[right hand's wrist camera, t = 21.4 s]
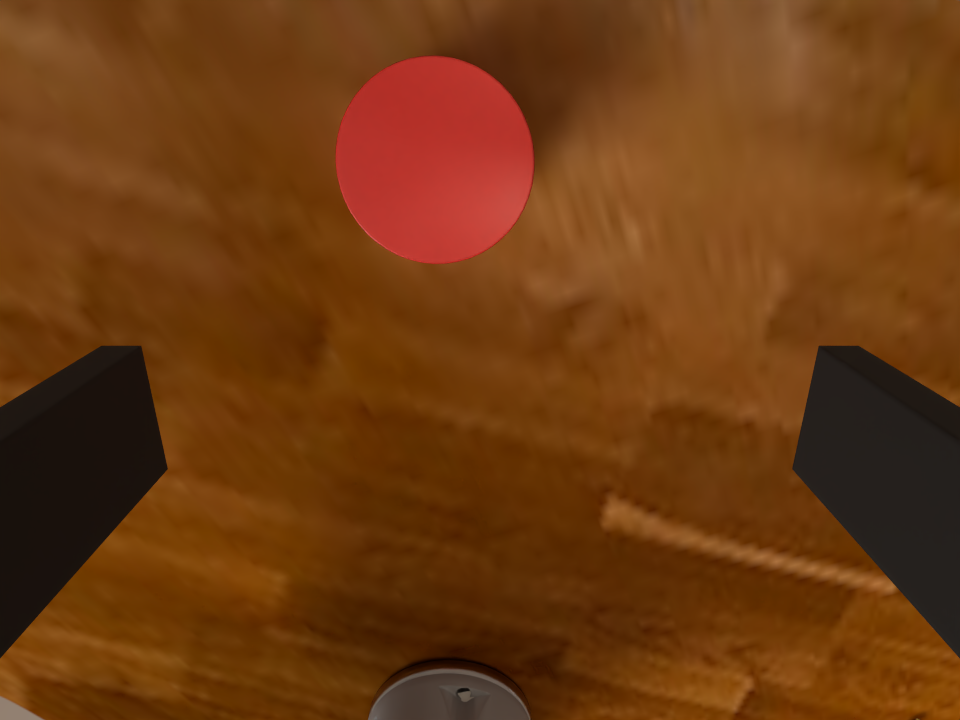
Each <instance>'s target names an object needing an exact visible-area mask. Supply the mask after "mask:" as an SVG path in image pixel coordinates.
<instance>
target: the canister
mask: <svg viewBox="0 0 960 720" xmlns="http://www.w3.org/2000/svg"><path fill="white" fill-rule="evenodd" d="M336 170H337V177H338V181H339V185H340V189H341V192H342V195H343V197H344V200H345V202H346V204H347V206H348V208H349V210H350V212H351V214H352V215H353V217H354V218H355V220H356V221H357V223H358V224H359V225H360V226H361V227H362V229H363V230H364V231H365V232H366V233H367V234H368V235H369V236H370V237H371V238H372V239H374V240H375V241H376V242H377V243H378V244H380V245H381V246H383V247H384V248H386V249H387V250H389V251H391V252H393V253H395V254H397V255H399V256H401V257H404V258H407V259H409V260H413V261H418V262H422V263H431V264H446V263H453V262H459V261H462V260H466V259H469V258H472V257H474V256H476V255H478V254H481V253H482V252H484V251H486V250H487V249H489V248H491V247H492V246H494V245H495V244H496V243H497V242H499V241H500V240H501V239H502V238H503V237H504V236H505V235H506V234H507V233H508V232H509V231H510V230H511V228H512V227H513V226H514V224H515V223H516V222H517V220H518V219H519V217H520V215H521V213H522V212H523V210H524V208H525V205H526V203H527V200H528V198H529V195H530V191H531V188H532V184H533V176H534V149H533V142H532V138H531V133H530V130H529V127H528V124H527V122H526V119H525V117H524V115H523V113H522V111H521V109H520V107H519V105H518V104H517V102H516V101H515V100H514V98H513V97H512V95H511V94H510V93H509V92H508V91H507V90H506V88H505V87H504V86H503V85H502V84H501V83H500V82H499V81H497V80H496V79H495V78H494V77H492V76H491V75H490V74H489V73H487V72H485V71H484V70H482V69H480V68H479V67H477V66H475V65H473V64H470V63H468V62H466V61H463V60H459V59H455V58H452V57H445V56H420V57H414V58H409V59H406V60H403V61H400V62H397V63H395V64H393V65H391V66H389V67H387V68H385V69H383V70H382V71H380V72H379V73H377V74H376V75H374V76H373V77H372V78H371V79H370V80H369V81H368V82H366V83H365V84H364V85H363V86H362V88H361V89H360V90H359V91H358V92H357V94H356V95H355V96H354V98H353V99H352V101H351V103H350V104H349V106H348V108H347V110H346V112H345V114H344V117H343V119H342V121H341V125H340V129H339V132H338V137H337V144H336Z"/></svg>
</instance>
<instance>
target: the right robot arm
mask: <svg viewBox="0 0 960 720" xmlns="http://www.w3.org/2000/svg"><path fill="white" fill-rule="evenodd" d="M167 469H168V468H167V464H166V459H165V454H164V450H163V445H162V440H161V436H160V431H159V426H158V422H157V417H156V413H155V408H154V403H153V399H152V394H151V389H150V385H149V380H148V376H147V371H146V366H145V362H144V357H143V352H142V348H141V346H101V347H99V348H97V349H96V350H94V351H92V352H91V353H89V354H87V355H86V356H84V357H82V358H81V359H79V360H78V361H76V362H74V363H73V364H71V365H69V366H68V367H66V368H64V369H63V370H61V371H59V372H58V373H56V374H54V375H53V376H51V377H49V378H48V379H46V380H45V381H43V382H41V383H40V384H38V385H36V386H35V387H33V388H31V389H30V390H28V391H26V392H25V393H23V394H21V395H20V396H18V397H17V398H15V399H13V400H12V401H10V402H8V403H7V404H5V405H3V406H2V407H0V658H1V657H2V656H3V654H4V653H5V652H6V651H7V650H8V649H9V648H10V647H11V645H12V644H13V643H14V642H15V641H16V640H17V639H18V638H19V636H20V635H21V634H22V633H23V632H24V631H25V630H26V628H27V627H28V626H29V625H30V624H31V623H32V622H33V621H34V619H35V618H36V617H37V616H38V615H39V614H40V613H41V612H42V610H43V609H44V608H45V607H46V606H47V605H48V604H49V603H50V601H51V600H52V599H53V598H54V597H55V596H56V595H57V593H58V592H59V591H60V590H61V589H62V588H63V587H64V586H65V584H66V583H67V582H68V581H69V580H70V579H71V578H72V577H73V575H74V574H75V573H76V572H77V571H78V570H79V569H80V567H81V566H82V565H83V564H84V563H85V562H86V561H87V560H88V558H89V557H90V556H91V555H92V554H93V553H94V552H95V551H96V549H97V548H98V547H99V546H100V545H101V544H102V543H103V542H104V540H105V539H106V538H107V537H108V536H109V535H110V534H111V532H112V531H113V530H114V529H115V528H116V527H117V526H118V525H119V523H120V522H121V521H122V520H123V519H124V518H125V517H126V516H127V514H128V513H129V512H130V511H131V510H132V509H133V508H134V506H135V505H136V504H137V503H138V502H139V501H140V500H141V499H142V497H143V496H144V495H145V494H146V493H147V492H148V491H149V490H150V488H151V487H152V486H153V485H154V484H155V483H156V482H157V481H158V479H159V478H160V477H161V476H162V475H163V474H164V473H165V471H166V470H167ZM792 469H793V470H794V471H795V473H796V474H797V475H798V476H799V477H800V478H801V479H802V481H803V482H804V483H805V484H806V485H807V486H808V487H809V488H810V490H811V491H812V492H813V493H814V494H815V495H816V496H817V497H818V499H819V500H820V501H821V502H822V503H823V504H824V505H825V506H826V508H827V509H828V510H829V511H830V512H831V513H832V514H833V516H834V517H835V518H836V519H837V520H838V521H839V522H840V523H841V525H842V526H843V527H844V528H845V529H846V530H847V531H848V532H849V534H850V535H851V536H852V537H853V538H854V539H855V540H856V542H857V543H858V544H859V545H860V546H861V547H862V548H863V549H864V551H865V552H866V553H867V554H868V555H869V556H870V557H871V558H872V560H873V561H874V562H875V563H876V564H877V565H878V566H879V567H880V569H881V570H882V571H883V572H884V573H885V574H886V575H887V577H888V578H889V579H890V580H891V581H892V582H893V583H894V584H895V586H896V587H897V588H898V589H899V590H900V591H901V592H902V593H903V595H904V596H905V597H906V598H907V599H908V600H909V601H910V603H911V604H912V605H913V606H914V607H915V608H916V609H917V610H918V612H919V613H920V614H921V615H922V616H923V617H924V618H925V619H926V621H927V622H928V623H929V624H930V625H931V626H932V627H933V628H934V630H935V631H936V632H937V633H938V634H939V635H940V636H941V638H942V639H943V640H944V641H945V642H946V643H947V644H948V645H949V647H950V648H951V649H952V650H953V651H954V652H955V653H956V654H957V656H958V657H959V658H960V407H958V406H957V405H955V404H953V403H952V402H950V401H948V400H947V399H945V398H943V397H942V396H940V395H939V394H937V393H935V392H934V391H932V390H930V389H929V388H927V387H925V386H924V385H922V384H920V383H919V382H917V381H915V380H914V379H912V378H911V377H909V376H907V375H906V374H904V373H902V372H901V371H899V370H897V369H896V368H894V367H892V366H891V365H889V364H887V363H886V362H884V361H882V360H881V359H879V358H878V357H876V356H874V355H873V354H871V353H869V352H868V351H866V350H864V349H863V348H861V347H859V346H819V348H818V352H817V357H816V362H815V366H814V371H813V376H812V380H811V385H810V389H809V394H808V399H807V403H806V408H805V413H804V417H803V422H802V426H801V431H800V436H799V440H798V445H797V450H796V454H795V459H794V464H793V468H792ZM368 720H531V713H530V708H529V704H528V702H527V700H526V698H525V696H524V694H523V693H522V691H521V690H520V689H519V688H518V687H517V686H516V685H515V684H514V683H513V682H512V681H511V680H510V679H508V678H507V677H506V676H504V675H503V674H501V673H499V672H497V671H495V670H493V669H491V668H488V667H486V666H483V665H480V664H476V663H472V662H467V661H459V660H439V661H431V662H425V663H421V664H417V665H415V666H412V667H409V668H407V669H404V670H402V671H401V672H399V673H397V674H395V675H394V676H392V677H391V678H390V679H389V680H387V681H386V682H385V683H384V684H383V685H382V686H381V688H380V689H379V690H378V691H377V693H376V695H375V697H374V699H373V701H372V704H371V708H370V713H369V719H368Z"/></svg>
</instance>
